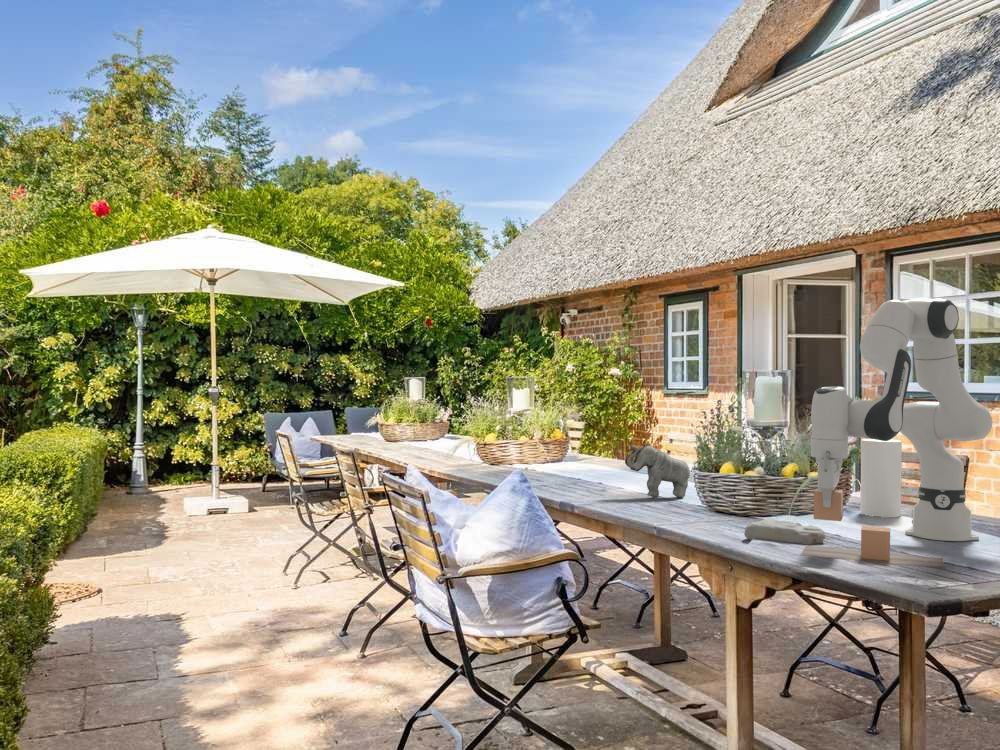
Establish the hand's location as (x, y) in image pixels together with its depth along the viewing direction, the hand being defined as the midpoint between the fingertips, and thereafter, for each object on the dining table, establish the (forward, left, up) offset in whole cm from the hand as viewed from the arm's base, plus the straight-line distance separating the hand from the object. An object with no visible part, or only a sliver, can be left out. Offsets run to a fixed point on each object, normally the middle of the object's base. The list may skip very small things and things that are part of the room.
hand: (828, 505), depth 216 cm
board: (0, +10, -13) cm, 17 cm away
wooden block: (0, +11, -12) cm, 16 cm away
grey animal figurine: (-85, -67, -13) cm, 109 cm away
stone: (-17, -13, -14) cm, 25 cm away
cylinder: (-84, +10, -13) cm, 86 cm away
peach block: (0, 0, -3) cm, 3 cm away
